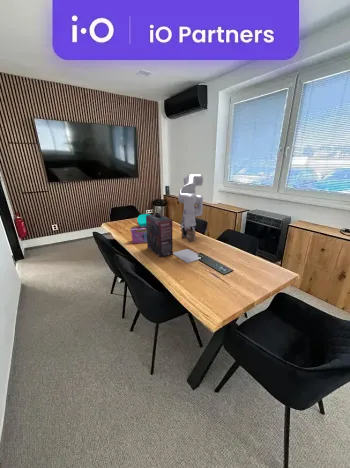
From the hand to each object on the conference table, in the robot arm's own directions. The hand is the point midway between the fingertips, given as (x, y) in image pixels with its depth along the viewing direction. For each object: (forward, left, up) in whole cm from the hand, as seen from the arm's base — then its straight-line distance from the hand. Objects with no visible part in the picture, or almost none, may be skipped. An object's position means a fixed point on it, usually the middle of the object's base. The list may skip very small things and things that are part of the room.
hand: (188, 234), depth 158 cm
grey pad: (0, 0, -18) cm, 18 cm away
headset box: (-21, -14, -19) cm, 31 cm away
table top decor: (-81, +9, -19) cm, 84 cm away
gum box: (-49, -14, -19) cm, 55 cm away
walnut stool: (0, 0, -4) cm, 4 cm away
